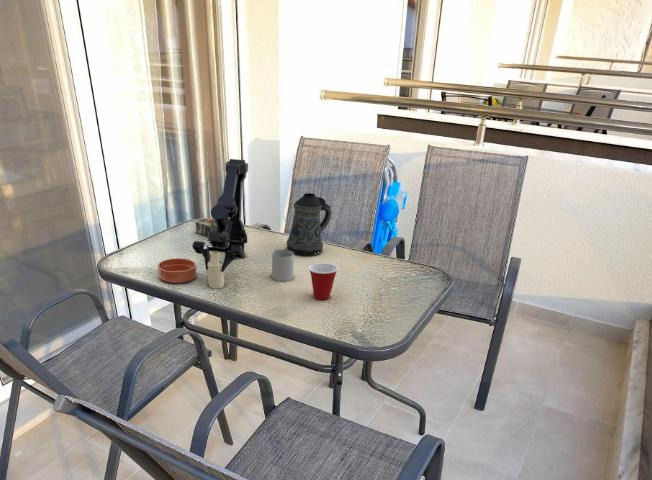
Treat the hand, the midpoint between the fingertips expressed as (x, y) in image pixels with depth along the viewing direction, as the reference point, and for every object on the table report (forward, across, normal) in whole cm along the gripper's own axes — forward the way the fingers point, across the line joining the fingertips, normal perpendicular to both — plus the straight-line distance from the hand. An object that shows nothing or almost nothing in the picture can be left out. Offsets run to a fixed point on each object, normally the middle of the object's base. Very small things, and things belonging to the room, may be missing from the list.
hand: (214, 270), depth 187 cm
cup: (-7, +22, +17) cm, 29 cm away
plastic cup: (+3, +40, +6) cm, 41 cm away
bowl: (+1, -17, +8) cm, 19 cm away
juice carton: (-36, -18, +45) cm, 61 cm away
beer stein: (-32, +26, +41) cm, 58 cm away
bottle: (+4, 0, +6) cm, 7 cm away
